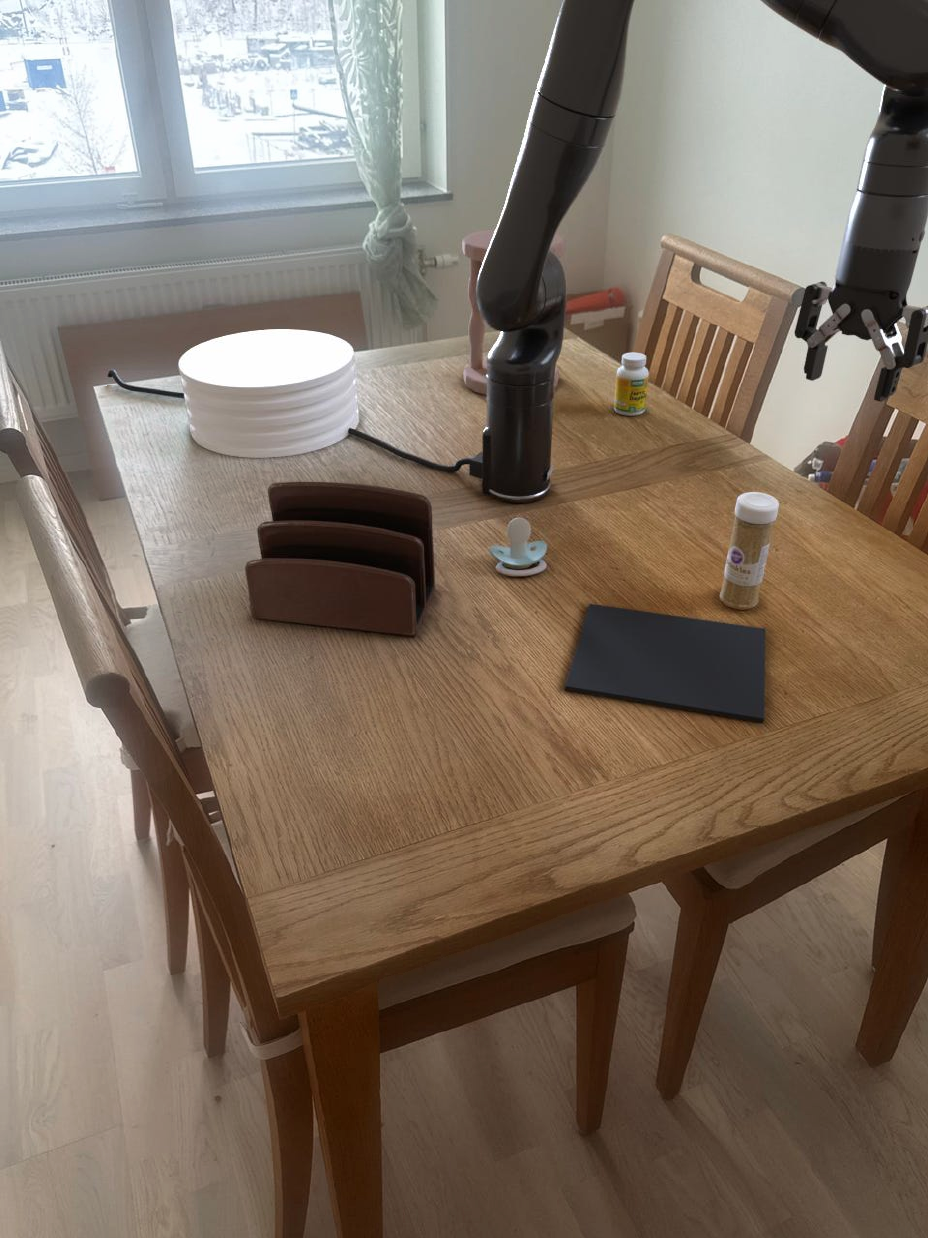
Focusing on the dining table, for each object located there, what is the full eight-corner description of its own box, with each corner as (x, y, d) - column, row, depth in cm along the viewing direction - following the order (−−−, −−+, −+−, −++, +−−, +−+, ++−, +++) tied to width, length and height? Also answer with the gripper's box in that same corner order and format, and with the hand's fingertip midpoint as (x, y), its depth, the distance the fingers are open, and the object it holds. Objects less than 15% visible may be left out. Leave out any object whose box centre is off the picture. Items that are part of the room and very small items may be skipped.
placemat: (564, 690, 96) (565, 685, 96) (589, 607, 109) (589, 603, 108) (763, 723, 91) (764, 718, 91) (764, 632, 104) (765, 628, 104)
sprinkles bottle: (712, 602, 109) (729, 500, 102) (730, 586, 112) (748, 486, 104) (748, 615, 107) (768, 513, 99) (765, 599, 110) (786, 498, 102)
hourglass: (571, 372, 174) (579, 232, 160) (539, 404, 161) (545, 254, 147) (485, 360, 180) (486, 224, 166) (448, 390, 167) (445, 245, 153)
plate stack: (160, 421, 156) (147, 355, 150) (298, 381, 172) (291, 319, 165) (247, 474, 139) (236, 401, 132) (392, 423, 154) (388, 356, 148)
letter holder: (282, 575, 115) (267, 472, 107) (436, 591, 112) (433, 486, 104) (251, 620, 107) (233, 512, 99) (416, 639, 104) (411, 529, 96)
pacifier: (553, 576, 115) (541, 551, 119) (556, 533, 111) (544, 509, 116) (495, 582, 114) (486, 556, 118) (496, 539, 110) (487, 514, 115)
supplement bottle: (630, 402, 161) (635, 348, 156) (651, 412, 158) (657, 357, 152) (607, 409, 159) (611, 354, 153) (627, 419, 155) (633, 363, 150)
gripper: (801, 231, 98) (773, 379, 107) (930, 256, 89) (887, 415, 98) (840, 221, 101) (809, 365, 111) (967, 243, 92) (923, 398, 102)
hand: (846, 388), depth 104 cm, fingers open, 8 cm apart
